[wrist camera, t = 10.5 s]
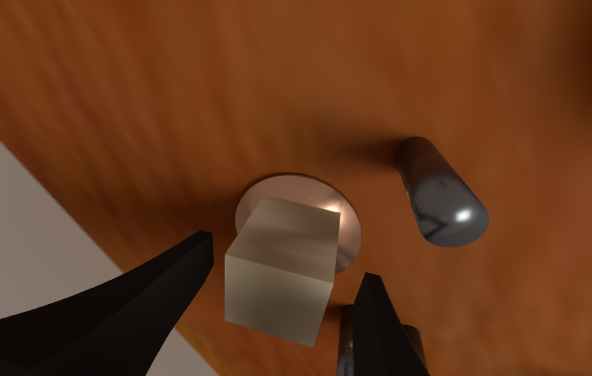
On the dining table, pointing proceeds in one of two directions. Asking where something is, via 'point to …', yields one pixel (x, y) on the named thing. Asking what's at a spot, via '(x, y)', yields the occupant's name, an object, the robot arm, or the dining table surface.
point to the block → (282, 269)
